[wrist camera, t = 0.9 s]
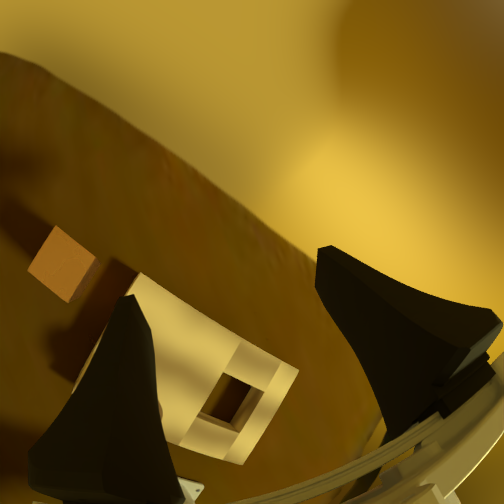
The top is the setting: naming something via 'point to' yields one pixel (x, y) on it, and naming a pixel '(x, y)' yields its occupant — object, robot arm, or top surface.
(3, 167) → the top surface
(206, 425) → the board
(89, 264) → the brown wooden block
